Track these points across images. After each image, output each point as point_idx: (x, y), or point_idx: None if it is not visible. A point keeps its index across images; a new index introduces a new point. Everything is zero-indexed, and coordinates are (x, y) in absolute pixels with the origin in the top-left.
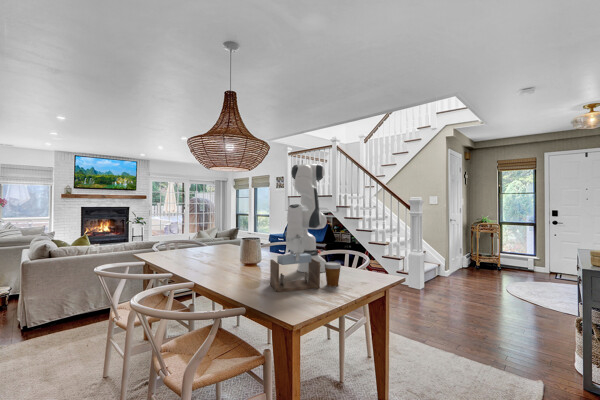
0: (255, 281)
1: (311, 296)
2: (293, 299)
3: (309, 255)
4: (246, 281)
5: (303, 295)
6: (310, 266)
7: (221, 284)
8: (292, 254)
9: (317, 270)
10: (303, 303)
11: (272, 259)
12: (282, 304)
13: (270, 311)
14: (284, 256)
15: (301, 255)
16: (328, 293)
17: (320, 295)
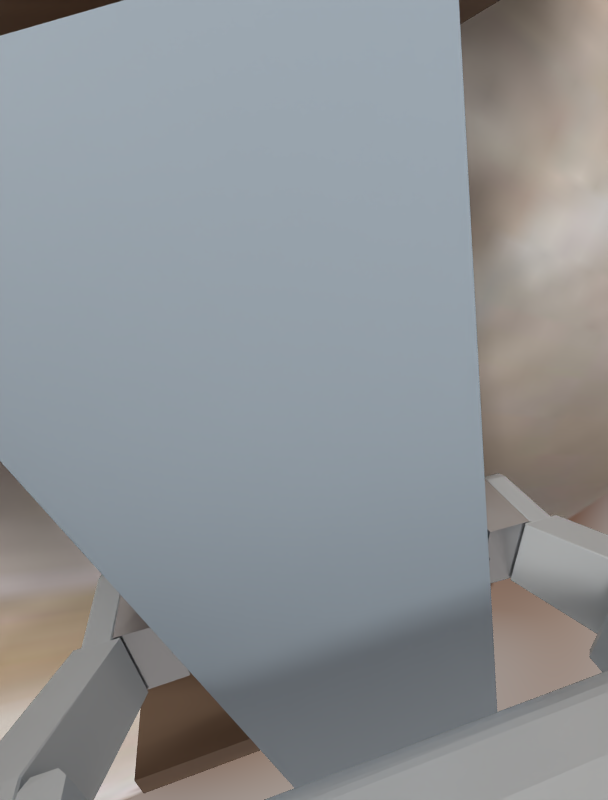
0: (51, 619)
1: (531, 250)
2: (521, 384)
3: (447, 94)
4: (53, 664)
5: (486, 306)
6: (11, 11)
7: (133, 737)
8: (197, 678)
9: (465, 11)
10: (603, 337)
11: (137, 780)
12: (554, 444)
13: (593, 488)
14: (428, 736)
15: (434, 464)
16: (543, 40)
17: (548, 159)
